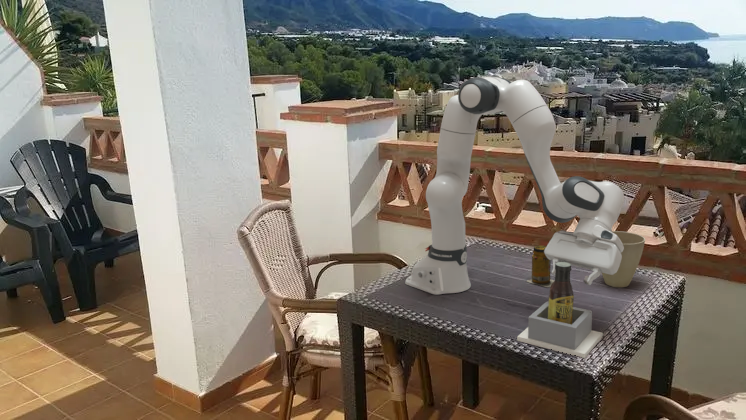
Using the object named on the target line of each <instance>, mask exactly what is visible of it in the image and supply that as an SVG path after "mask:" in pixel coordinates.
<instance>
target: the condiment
mask: <svg viewBox="0 0 746 420" xmlns="http://www.w3.org/2000/svg"><path fill="white" fill-rule="evenodd" d="M546 246H547V245H536V246H534V247H533V252H532V253H533V254H532V256H531V279H527V280H526V281H525V282H527V283H530V284H533V285H536V286H540V287H545V288H550V287H551V285H552V283H553V282H554V281H555V279H551V274H552V271H551V264H552V263H551V261H552V260H549V259H548V258H547V257H546V255H545V253H544V250H545V248H546Z"/></svg>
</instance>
